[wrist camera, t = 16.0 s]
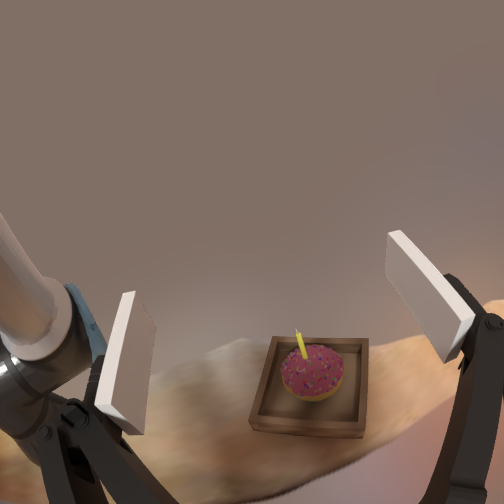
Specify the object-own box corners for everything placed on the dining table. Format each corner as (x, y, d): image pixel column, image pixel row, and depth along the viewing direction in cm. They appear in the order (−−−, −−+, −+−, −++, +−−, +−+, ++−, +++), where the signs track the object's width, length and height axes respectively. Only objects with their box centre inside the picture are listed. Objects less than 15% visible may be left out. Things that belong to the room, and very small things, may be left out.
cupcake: (273, 394, 41) (258, 344, 35) (308, 356, 46) (302, 301, 39) (321, 423, 36) (318, 378, 29) (355, 379, 40) (360, 325, 34)
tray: (253, 430, 38) (248, 420, 36) (275, 349, 50) (272, 336, 48) (362, 438, 33) (365, 429, 31) (366, 352, 45) (368, 338, 43)
